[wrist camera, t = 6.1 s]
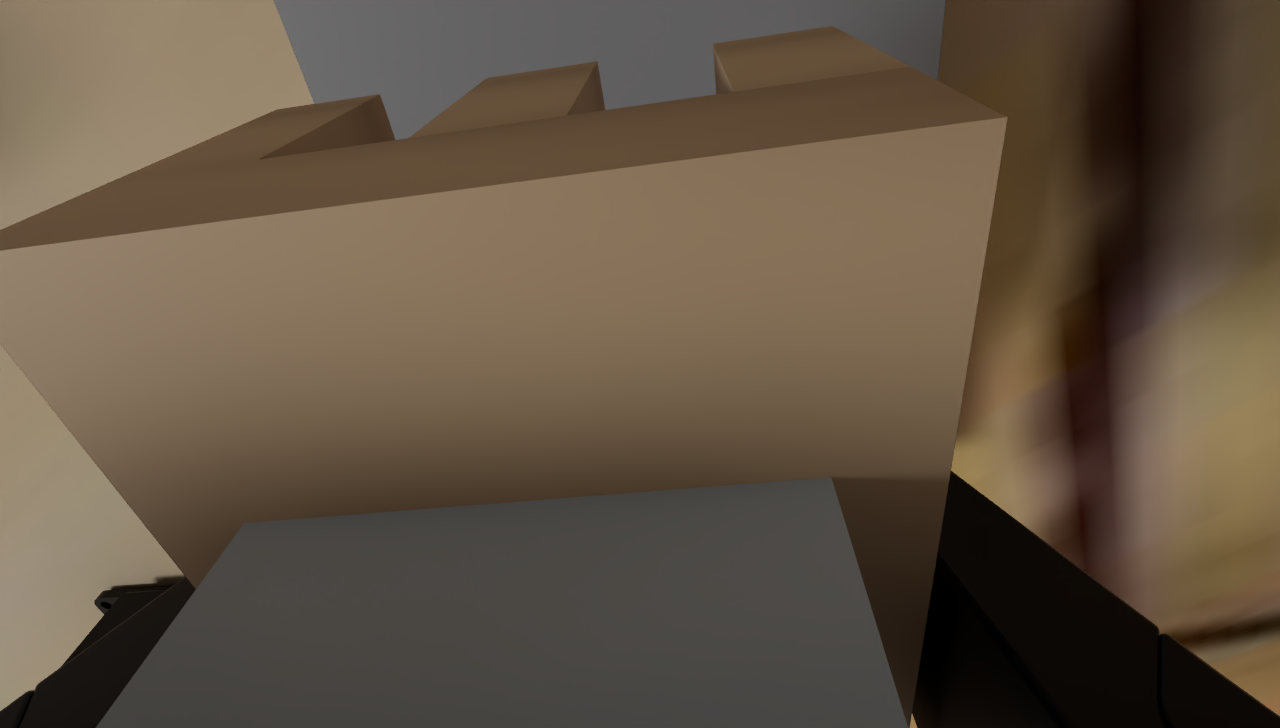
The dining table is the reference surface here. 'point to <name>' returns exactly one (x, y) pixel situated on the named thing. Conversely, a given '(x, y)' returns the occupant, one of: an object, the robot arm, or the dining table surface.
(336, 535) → the grey cube
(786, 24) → the dock
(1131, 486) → the dining table surface
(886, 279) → the pallet
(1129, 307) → the dining table surface
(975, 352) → the dining table surface
